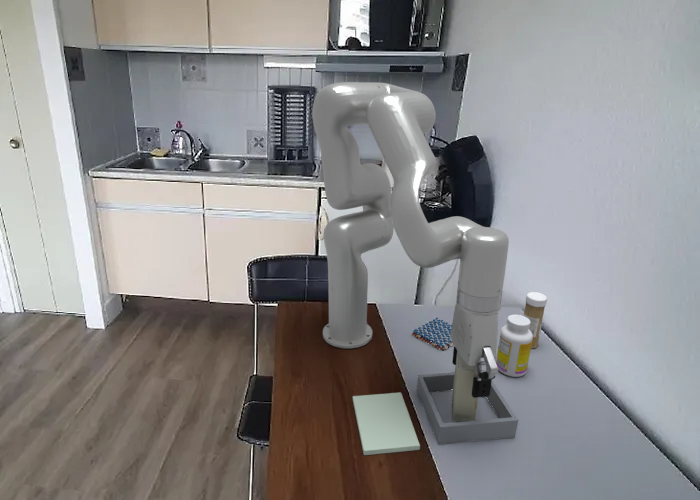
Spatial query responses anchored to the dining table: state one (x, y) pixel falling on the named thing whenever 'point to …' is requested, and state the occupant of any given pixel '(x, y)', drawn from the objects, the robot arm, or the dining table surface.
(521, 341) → the supplement bottle
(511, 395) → the dining table surface
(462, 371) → the skincare box
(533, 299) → the sprinkles bottle
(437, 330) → the woven mat
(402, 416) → the pad
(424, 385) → the bin
